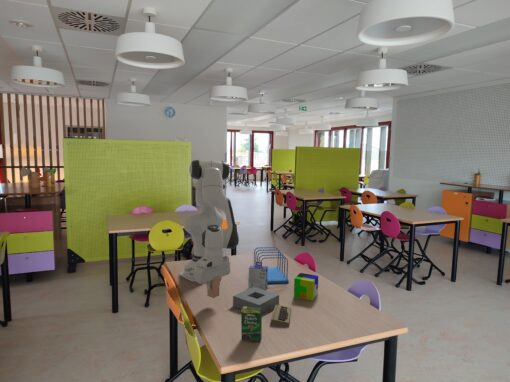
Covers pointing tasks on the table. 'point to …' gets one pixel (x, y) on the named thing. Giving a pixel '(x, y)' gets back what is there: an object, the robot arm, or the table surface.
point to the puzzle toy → (306, 286)
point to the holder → (256, 299)
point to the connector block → (214, 288)
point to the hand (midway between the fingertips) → (213, 287)
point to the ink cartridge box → (258, 276)
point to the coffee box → (251, 324)
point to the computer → (281, 316)
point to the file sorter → (274, 272)
